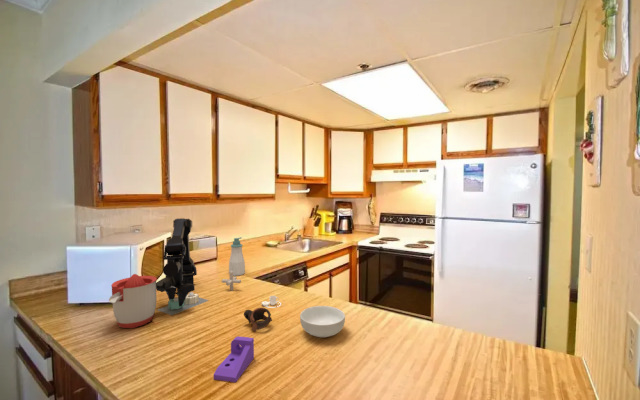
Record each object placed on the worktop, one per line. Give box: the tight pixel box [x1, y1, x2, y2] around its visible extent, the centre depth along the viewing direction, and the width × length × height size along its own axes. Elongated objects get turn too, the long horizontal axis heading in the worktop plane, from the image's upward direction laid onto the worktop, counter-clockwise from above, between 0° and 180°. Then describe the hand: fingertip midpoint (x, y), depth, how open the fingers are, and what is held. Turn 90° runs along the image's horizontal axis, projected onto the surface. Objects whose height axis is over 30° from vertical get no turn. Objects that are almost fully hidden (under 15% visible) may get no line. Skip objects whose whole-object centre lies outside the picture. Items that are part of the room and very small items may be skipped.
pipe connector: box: [221, 271, 242, 292], centre depth 157 cm, size 10×10×10 cm
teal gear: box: [167, 299, 184, 310], centre depth 131 cm, size 6×6×3 cm
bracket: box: [213, 336, 255, 383], centre depth 89 cm, size 12×7×7 cm, turn 168°
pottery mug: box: [243, 307, 273, 332], centre depth 116 cm, size 12×10×8 cm
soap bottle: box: [228, 236, 246, 277], centre depth 186 cm, size 10×10×23 cm
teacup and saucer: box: [261, 295, 282, 309], centre depth 138 cm, size 9×8×4 cm
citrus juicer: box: [108, 273, 158, 329], centre depth 118 cm, size 16×17×20 cm
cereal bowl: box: [299, 305, 346, 338], centre depth 111 cm, size 17×17×7 cm
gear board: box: [157, 291, 210, 316], centre depth 134 cm, size 11×19×6 cm, turn 150°
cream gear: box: [184, 293, 200, 305], centre depth 137 cm, size 6×6×3 cm
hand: (176, 304), depth 131 cm, fingers closed on teal gear, 6 cm apart
